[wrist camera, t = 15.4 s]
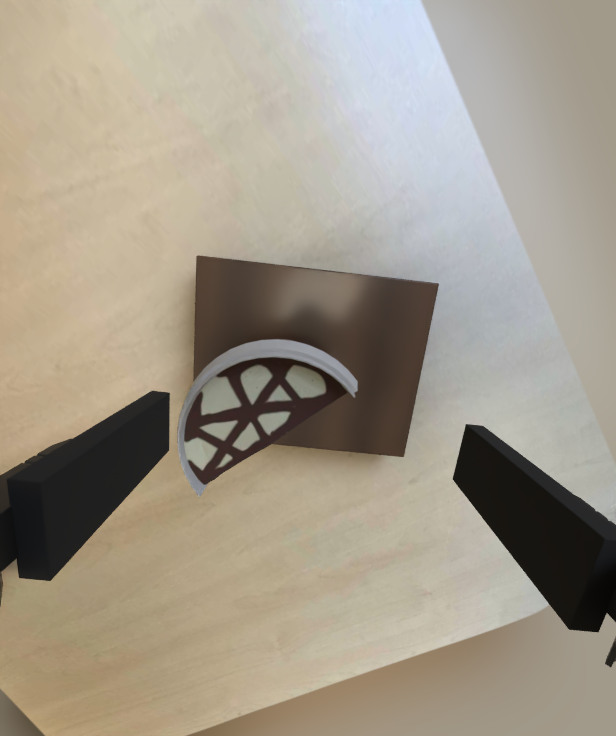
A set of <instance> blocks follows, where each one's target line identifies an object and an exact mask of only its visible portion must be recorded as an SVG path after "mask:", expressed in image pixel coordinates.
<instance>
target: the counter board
mask: <svg viewBox="0 0 616 736" xmlns="http://www.w3.org/2000/svg"><path fill="white" fill-rule="evenodd" d="M438 286H439V284H438V283H430V282H421V281H413V280H404V279H396V278H387V277H378V276H370V275H361V274H353V273H344V272H335V271H327V270H318V269H310V268H301V267H292V266H284V265H275V264H266V263H258V262H249V261H241V260H232V259H223V258H215V257H206V256H197V262H196V302H195V342H194V381H195V379H196V378H197V377H198V375H199V374H200V373H201V372H202V371H203V369H204V368H205V367H206V366H207V365H208V364H210V363H211V362H212V361H213V360H214V359H216V358H217V357H218V356H220V355H222V354H223V353H225V352H227V351H228V350H230V349H232V348H235V347H237V346H240V345H243V344H245V343H250V342H254V341H259V340H272V339H280V340H283V339H289V340H292V341H295V342H299V343H303V344H307V345H310V346H312V347H315V348H317V349H319V350H321V351H324V352H325V353H327V354H328V355H330V356H331V357H333V358H335V359H336V360H337V361H339V362H340V363H341V364H342V365H343V366H344V367H345V368H346V369H348V370H349V372H350V373H351V374H352V375H353V376H354V378H355V379H356V380H357V381H358V382H357V391H356V392H355V393H354V394H355V398H354V397H353V396H352V395H351V394H350V392H349V391H348V390H347V389H346V390H347V391H348V393H346V394H345V395H343V396H342V397H340V398H339V399H337V400H336V401H334V402H332V403H331V404H329V405H328V406H326V407H325V408H323V409H322V410H320V411H319V412H317V413H315V414H314V415H312V416H311V417H309V418H308V419H306V420H305V421H303V422H302V423H301V424H299V425H298V426H296V427H295V428H293V429H292V430H291V431H289V432H288V433H286V434H285V435H284V436H282V437H281V438H279V439H278V440H277V441H275V442H274V443H272V444H277V445H287V446H297V447H307V448H317V449H327V450H337V451H347V452H357V453H368V454H378V455H388V456H398V457H404V453H405V448H406V443H407V439H408V434H409V429H410V424H411V419H412V414H413V409H414V404H415V399H416V394H417V389H418V384H419V379H420V374H421V369H422V364H423V360H424V355H425V350H426V345H427V340H428V335H429V330H430V325H431V320H432V315H433V310H434V305H435V300H436V295H437V290H438ZM193 383H194V382H193Z"/></svg>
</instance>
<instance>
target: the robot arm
mask: <svg viewBox="0 0 616 736" xmlns="http://www.w3.org/2000/svg"><path fill="white" fill-rule="evenodd" d="M169 401H170V393H167V392H157V391H151V392H149V393H148V394H146V395H144V396H143V397H141V398H139V399H138V400H136V401H135V402H133V403H131V404H130V405H128V406H126V407H125V408H123V409H121V410H120V411H118V412H116V413H115V414H113V415H111V416H110V417H108V418H106V419H105V420H103V421H102V422H100V423H98V424H97V425H95V426H93V427H92V428H90V429H88V430H87V431H85V432H83V433H82V434H80V435H78V436H77V437H75V438H74V439H69V440H66V441H63V442H60V443H57V444H55V445H52V446H50V447H48V448H47V449H45V450H43V451H42V452H40V453H38V454H37V456H33V457H31V458H30V459H28V460H26V461H25V463H21V464H19V465H18V466H16V467H14V468H12V469H11V470H9V471H7V472H6V473H4V474H2V475H0V605H1V596H2V587H3V581H2V574H1V572H2V571H3V570H4V569H5V568H6V567H7V566H8V565H9V564H10V563H12V562H13V561H14V560H15V559H16V558H17V565H18V573H19V578H25V579H35V580H46V581H51V580H52V579H53V578H54V576H55V575H56V574H57V573H58V572H59V571H60V570H61V569H62V568H63V567H64V565H65V564H66V563H67V562H68V561H69V560H70V559H71V558H72V557H73V556H74V554H75V553H76V552H77V551H78V550H79V549H80V548H81V547H82V546H83V545H84V543H85V542H86V541H87V540H88V539H89V538H90V537H91V536H92V535H93V533H94V532H95V531H96V530H97V529H98V528H99V527H100V526H101V525H102V524H103V522H104V521H105V520H106V519H107V518H108V517H109V516H110V515H111V514H112V513H113V511H114V510H115V509H116V508H117V507H118V506H119V505H120V504H121V503H122V502H123V500H124V499H125V498H126V497H127V496H128V495H129V494H130V493H131V492H132V491H133V489H134V488H135V487H136V486H137V485H138V484H139V483H140V482H141V481H142V480H143V478H144V477H145V476H146V475H147V474H148V473H149V472H150V471H151V470H152V469H153V467H154V466H155V465H156V464H157V463H158V462H159V461H160V460H161V459H162V457H163V456H164V455H165V454H166V453H167V452H168V451H169ZM453 480H454V482H455V483H456V484H457V485H458V487H459V488H460V489H461V491H462V492H463V493H464V494H465V496H466V497H467V498H468V500H469V501H470V502H471V504H472V505H473V506H474V507H475V509H476V510H477V511H478V513H479V514H480V515H481V516H482V518H483V519H484V520H485V522H486V523H487V524H488V525H489V527H490V528H491V529H492V531H493V532H494V533H495V534H496V536H497V537H498V538H499V540H500V541H501V542H502V544H503V545H504V546H505V547H506V549H507V550H508V551H509V553H510V554H511V555H512V556H513V558H514V559H515V560H516V562H517V563H518V564H519V565H520V567H521V568H522V569H523V571H524V572H525V573H526V575H527V576H528V577H529V578H530V580H531V581H532V582H533V584H534V585H535V586H536V587H537V589H538V590H539V591H540V593H541V594H542V595H543V596H544V598H545V599H546V600H547V602H548V603H549V604H550V606H551V607H552V608H553V609H554V611H555V612H556V613H557V615H558V616H559V617H560V618H561V620H562V621H563V622H564V624H565V625H566V626H567V627H568V629H569V630H579V631H590V632H599V630H600V627H601V625H602V622H603V620H604V618H605V615H606V613H608V614H609V615H610V616H611V617H612V619H613V620H614V621H615V622H616V525H615V524H614V523H613V522H611V521H608V519H607V518H606V517H605V516H603V515H602V514H601V513H599V512H597V511H595V509H594V508H593V507H591V506H590V505H589V504H587V503H586V502H585V501H583V500H582V499H581V498H579V497H577V496H575V495H574V494H572V493H571V492H570V491H568V490H567V489H566V488H564V487H563V486H562V485H560V484H559V483H558V482H556V481H555V480H554V479H552V478H551V477H550V476H548V475H547V474H546V473H545V472H543V471H542V470H541V469H539V468H538V467H537V466H535V465H534V464H533V463H531V462H530V461H529V460H527V459H526V458H525V457H523V456H522V455H521V454H519V453H518V452H517V451H515V450H514V449H513V448H511V447H510V446H509V445H508V444H506V443H505V442H504V441H502V440H501V439H500V438H498V437H497V436H496V435H494V434H493V433H492V432H490V431H489V430H488V429H486V428H485V427H484V426H478V425H469V424H466V427H465V431H464V435H463V439H462V443H461V447H460V451H459V455H458V460H457V464H456V468H455V472H454V476H453ZM615 661H616V638H615V640H614V642H613V645H612V647H611V649H610V652H609V654H608V656H607V659H606V662H605V664H607V665H608V666H610V667H611V666H612V664H613V662H615Z"/></svg>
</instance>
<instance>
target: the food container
mask: <svg viewBox="0 0 616 736" xmlns="http://www.w3.org/2000/svg"><path fill="white" fill-rule="evenodd" d="M357 382H358V381H357V380H356V379H355V378H354V376H353V375H352V374H351V373H350V372H349V370H348V369H346V368H345V367H344V366H343V365H342V364H341V363H340V362H339V361H337V360H336V359H335V358H333V357H331V356H330V355H328V354H327V353H325V352H324V351H321V350H319V349H317V348H315V347H312V346H310V345H307V344H303V343H299V342H295V341H292V340H289V339H283V340H280V339H272V340H259V341H254V342H250V343H245V344H243V345H240V346H237V347H235V348H232V349H230V350H228V351H227V352H225V353H223V354H222V355H220V356H218V357H217V358H216V359H214V360H213V361H212V362H211V363H210V364H208V365H207V366H206V367H205V368H204V369H203V371H202V372H201V373H200V374H199V375H198V377H197V378H196V379H195V381H194V383H193V385H192V386H191V388H190V390H189V392H188V394H187V397H186V399H185V402H184V405H183V407H182V410H181V413H180V417H179V422H178V428H177V443H178V452H179V458H180V463H181V465H182V468H183V471H184V474H185V476H186V478H187V480H188V481H189V483H190V485H191V487H192V488H193V489H194V491H195V492H196V493H197V495H198V496H199V497H200V496H201V494H202V492H203V491H204V489H205V487H206V486H207V484H208V483H209V482H210V481H212V480H215V479H216V478H217V477H218V476H219V475H221V474H222V473H223V472H225V471H227V470H228V469H230V468H231V467H233V466H234V465H236V464H238V463H239V462H241V461H243V460H244V459H246V458H248V457H249V456H251V455H253V454H255V453H256V452H258V451H260V450H262V449H263V448H265V447H267V446H269V445H270V444H272V443H274V442H275V441H277V440H278V439H279V438H281V437H282V436H284V435H285V434H286V433H288V432H289V431H291V430H292V429H293V428H295V427H296V426H298V425H299V424H301V423H302V422H303V421H305V420H306V419H308V418H309V417H311V416H312V415H314V414H315V413H317V412H319V411H320V410H322V409H323V408H325V407H326V406H328V405H329V404H331V403H332V402H334V401H336V400H337V399H339V398H340V397H342V396H343V395H345V394H346V393H348V391H349V392H350V394H351V395H352V396H353V397H354V398H355V394H354V393H355V392H356V391H357ZM346 389H347V390H348V391H347V390H346Z"/></svg>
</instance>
